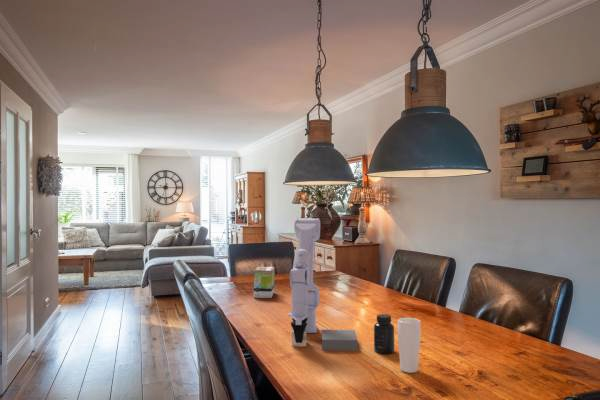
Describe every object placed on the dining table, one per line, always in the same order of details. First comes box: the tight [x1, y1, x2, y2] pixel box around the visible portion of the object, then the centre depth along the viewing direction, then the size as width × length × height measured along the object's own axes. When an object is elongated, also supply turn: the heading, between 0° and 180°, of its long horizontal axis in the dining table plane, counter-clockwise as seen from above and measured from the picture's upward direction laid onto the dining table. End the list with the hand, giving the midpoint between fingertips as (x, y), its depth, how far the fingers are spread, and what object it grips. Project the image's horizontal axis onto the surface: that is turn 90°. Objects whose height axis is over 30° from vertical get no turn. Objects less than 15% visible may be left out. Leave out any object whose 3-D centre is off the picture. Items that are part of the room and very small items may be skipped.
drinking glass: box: [397, 317, 422, 374], centre depth 134 cm, size 7×7×15 cm
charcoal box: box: [321, 329, 358, 352], centre depth 157 cm, size 12×12×4 cm
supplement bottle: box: [373, 313, 395, 355], centre depth 151 cm, size 7×7×12 cm
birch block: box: [291, 328, 308, 347], centre depth 158 cm, size 5×5×5 cm
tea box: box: [253, 266, 276, 299], centre depth 242 cm, size 15×10×15 cm, turn 179°
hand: (299, 340), depth 158 cm, fingers closed on birch block, 5 cm apart
